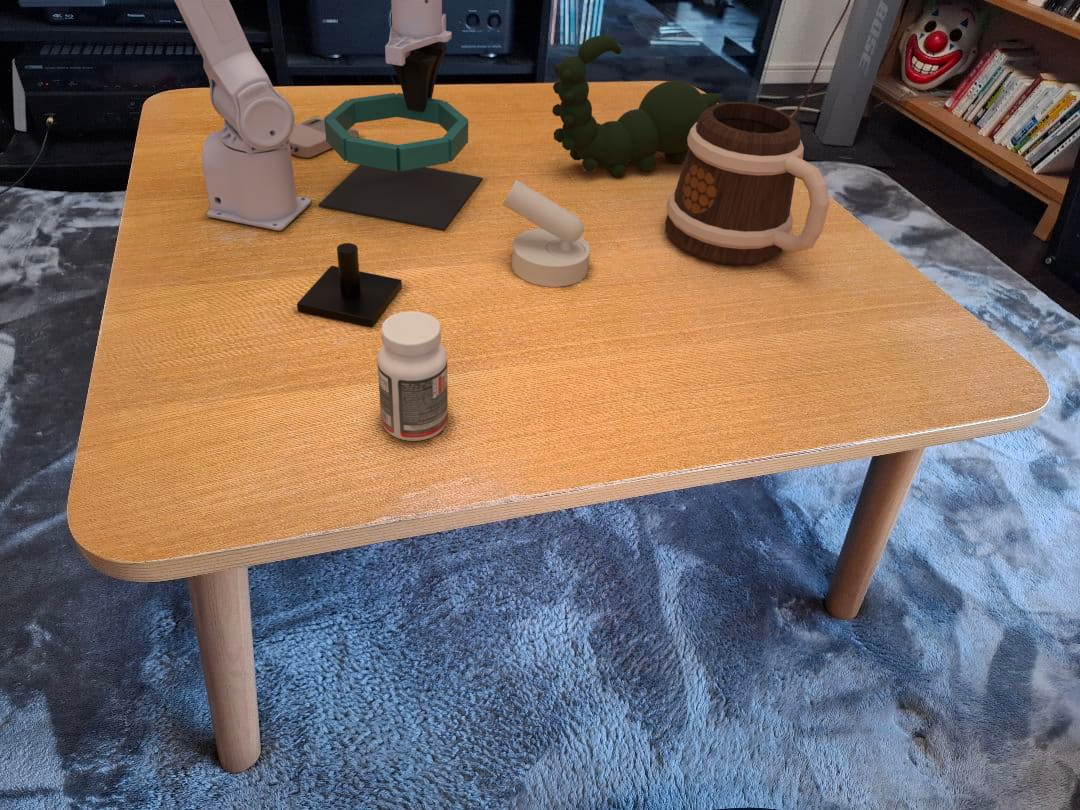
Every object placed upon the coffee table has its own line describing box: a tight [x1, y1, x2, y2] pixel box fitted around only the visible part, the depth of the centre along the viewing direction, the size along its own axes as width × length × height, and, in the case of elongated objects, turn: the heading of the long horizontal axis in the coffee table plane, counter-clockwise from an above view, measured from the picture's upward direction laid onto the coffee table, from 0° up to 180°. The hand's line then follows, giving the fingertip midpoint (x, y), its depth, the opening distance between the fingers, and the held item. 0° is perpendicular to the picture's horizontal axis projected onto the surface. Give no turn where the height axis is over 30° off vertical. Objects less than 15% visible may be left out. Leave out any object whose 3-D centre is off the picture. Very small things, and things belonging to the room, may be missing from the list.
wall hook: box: [502, 179, 591, 288], centre depth 94 cm, size 9×10×10 cm
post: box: [296, 242, 403, 328], centre depth 87 cm, size 8×8×6 cm
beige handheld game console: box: [289, 116, 360, 159], centre depth 117 cm, size 7×16×3 cm, turn 148°
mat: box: [318, 165, 483, 231], centre depth 108 cm, size 16×15×1 cm
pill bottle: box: [376, 310, 449, 442], centre depth 72 cm, size 6×6×10 cm
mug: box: [664, 101, 830, 267], centre depth 99 cm, size 20×15×15 cm
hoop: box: [324, 92, 469, 171], centre depth 100 cm, size 15×15×3 cm
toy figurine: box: [552, 34, 724, 178], centre depth 114 cm, size 9×19×25 cm
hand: (418, 107), depth 106 cm, fingers closed on hoop
